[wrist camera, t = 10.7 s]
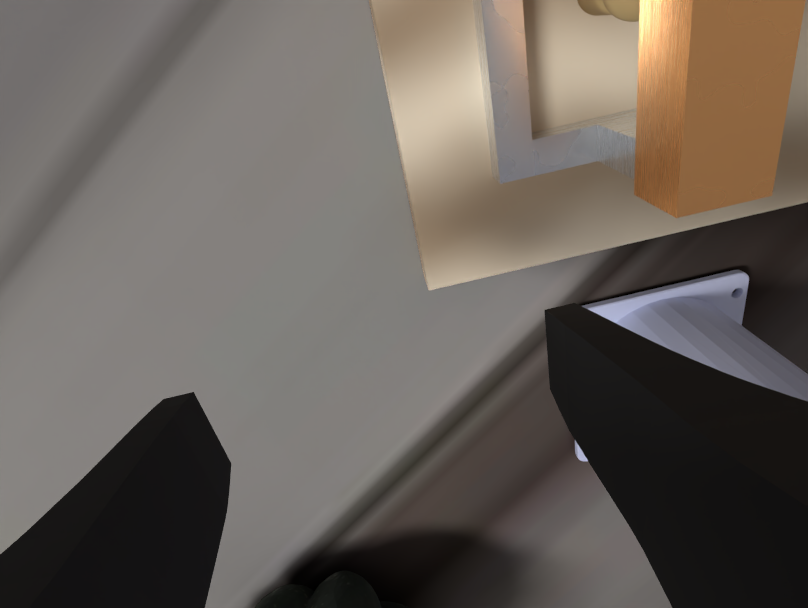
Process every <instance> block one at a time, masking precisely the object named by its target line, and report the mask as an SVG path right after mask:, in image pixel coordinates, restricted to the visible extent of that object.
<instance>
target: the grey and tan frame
mask: <svg viewBox="0 0 808 608" xmlns="http://www.w3.org/2000/svg"><path fill="white" fill-rule="evenodd" d="M805 1H806V0H640V13H639V46H638V79H637V108H634V109H630V110H626V111H621V112H617V113H613V114H608V115H604V116H600V117H595V118H591V119H587V120H583V121H578V122H574V123H570V124H565V125H561V126H557V127H552V128H548V129H544V130H540V131H535V132H532V129H531V115H530V101H529V86H528V72H527V58H526V43H525V29H524V14H523V0H473V9H474V18H475V27H476V36H477V44H478V53H479V62H480V71H481V80H482V89H483V98H484V107H485V116H486V125H487V134H488V142H489V151H490V160H491V169H492V176H493V177H494V178H495V179H496V180H497V181H498V182H499V183H500V184H502V183H506V182H510V181H515V180H519V179H523V178H527V177H532V176H536V175H540V174H545V173H549V172H553V171H558V170H562V169H566V168H570V167H575V166H579V165H583V164H588V163H592V162H596V161H599V162H601V163H603V164H605V165H607V166H609V167H611V168H613V169H615V170H617V171H619V172H621V173H622V174H624V175H626V176H628V177H630V178H632V179H634V195H635V196H637V197H639V198H641V199H643V200H644V201H646V202H648V203H650V204H652V205H653V206H655V207H657V208H659V209H661V210H663V211H664V212H666V213H668V214H670V215H672V216H673V217H675V218H679V217H684V216H688V215H692V214H697V213H701V212H705V211H709V210H714V209H718V208H722V207H727V206H731V205H735V204H739V203H744V202H748V201H752V200H757V199H761V198H765V197H769V196H772V193H773V188H774V182H775V176H776V170H777V164H778V158H779V153H780V147H781V141H782V135H783V129H784V124H785V118H786V112H787V106H788V100H789V94H790V89H791V83H792V77H793V71H794V65H795V60H796V54H797V48H798V42H799V36H800V30H801V25H802V19H803V13H804V7H805Z"/></svg>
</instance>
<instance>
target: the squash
mask: <svg viewBox="0 0 808 608" xmlns="http://www.w3.org/2000/svg"><path fill="white" fill-rule="evenodd" d="M255 608H408V607H406V606H404V605H402V604H399V603H395V602H390V601H382V602H380V601H379V599H378V597H377V595H376V593H375V591H374V590H373V588H372V587H371V585H370V584H369V583H368V582H367V581H366V580H365V579H364V578H363V577H361V576H360V575H358V574H355V573H353V572H351V571H339V572H336V573H334V574H332V575H331V576H329V577H328V578H326V579H325V580H324V581H323V582H322V583H321V584H320V585H319V586H318V587H317V588H316V590H315V592H314V591H313V590H312V589H310V588H308V587H306V586H302V585H295V584H290V585H285V586H282V587H279V588H277V589H276V590H274V591H273V592H271V593H270V594H268V595H267V596H265V597H264V598H263V599H261V601H260V602H259V603H258V604H257V606H256V607H255Z"/></svg>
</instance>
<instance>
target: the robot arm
mask: <svg viewBox="0 0 808 608" xmlns="http://www.w3.org/2000/svg"><path fill="white" fill-rule="evenodd" d="M748 284H749V276H748V275H747V274H746V273H745V272H743V271H741V270H732V271H728V272H724V273H720V274H715V275H711V276H707V277H702V278H698V279H694V280H690V281H685V282H681V283H677V284H673V285H668V286H664V287H660V288H655V289H651V290H647V291H643V292H638V293H634V294H630V295H626V296H621V297H617V298H613V299H608V300H604V301H600V302H596V303H591V304H587V305H583V306H580V305H578V304H575V303H573V304H568V305H564V306H560V307H556V308H551V309H547V310H545V322H546V337H547V351H548V366H549V381H550V390H551V392H552V394H553V396H554V399H555V401H556V403H557V405H558V408H559V410H560V412H561V414H562V416H563V418H564V420H565V422H566V425H567V427H568V429H569V431H570V432H571V434H572V436H573V437H574V439H575V453H576V455H577V457H578V459H579V460H580V461H589V463H590V465H591V466H592V468H593V469H594V471H595V472H596V474H597V476H598V477H599V479H600V480H601V482H602V483H603V485H604V487H605V488H606V490H607V491H608V493H609V494H610V496H611V498H612V499H613V501H614V502H615V504H616V506H617V507H618V509H619V510H620V512H621V513H622V515H623V517H624V518H625V520H626V521H627V523H628V524H629V526H630V528H631V529H632V531H633V533H634V535H635V536H636V538H637V540H638V542H639V543H640V545H641V547H642V548H643V550H644V552H645V554H646V556H647V558H648V560H649V562H650V564H651V566H652V568H653V570H654V572H655V574H656V576H657V578H658V580H659V582H660V584H661V586H662V588H663V590H664V592H665V594H666V596H667V598H668V599H669V601H670V603H671V606H672V608H808V374H807V373H806V372H804V371H803V370H802V369H800V368H799V367H797V366H796V365H795V364H793V363H792V362H791V361H789V360H788V359H787V358H785V357H784V356H782V355H781V354H780V353H778V352H777V351H776V350H774V349H773V348H771V347H770V346H769V345H767V344H766V343H765V342H763V341H762V340H761V339H759V338H758V337H756V336H755V335H754V334H752V333H751V332H750V331H748V330H747V329H745V328H744V327H743V326H742V320H743V314H744V308H745V302H746V296H747V290H748ZM735 289H736V291H735V292H734V293H732V292H733V291H734V290H735ZM230 473H231V462H230V460H229V459H228V457H227V455H226V453H225V451H224V449H223V447H222V445H221V443H220V441H219V440H218V438H217V436H216V434H215V432H214V430H213V428H212V426H211V424H210V422H209V420H208V419H207V417H206V415H205V413H204V411H203V409H202V407H201V405H200V403H199V401H198V400H197V398H196V396H195V394H194V392H192V393H188V394H184V395H179V396H175V397H171V398H166V399H163V400H162V401H161V402H160V403H159V404H158V405H156V406H155V407H154V408H153V409H152V410H151V411H150V412H149V413H148V414H147V415H146V416H145V417H144V418H143V419H142V420H140V421H139V422H138V423H137V424H136V425H135V426H134V427H133V428H132V429H131V430H130V431H129V432H128V433H127V434H126V435H125V436H124V437H123V438H122V440H121V441H120V442H119V443H118V444H117V445H116V446H115V447H114V448H113V449H112V450H111V451H110V452H109V453H108V454H107V455H106V456H105V457H104V458H103V459H102V460H101V461H100V462H99V463H98V464H97V465H96V466H95V467H94V468H93V469H92V470H91V471H90V472H89V473H88V474H87V475H86V476H85V477H84V478H83V479H82V480H81V481H80V482H79V483H78V484H77V485H75V486H74V487H73V488H72V489H71V490H70V491H69V492H68V493H67V494H66V495H65V496H64V497H63V498H62V499H61V500H60V501H59V502H57V503H56V504H55V505H54V506H53V507H52V508H51V509H50V510H49V511H48V512H47V513H46V514H45V515H44V516H43V517H42V518H41V519H39V520H38V521H37V522H36V523H35V524H34V525H33V526H32V527H31V528H30V529H29V530H28V531H27V532H26V533H24V534H23V535H22V536H21V537H20V538H19V539H18V540H17V541H15V542H14V543H13V544H12V545H11V546H10V547H9V548H7V549H6V550H5V551H4V552H3V553H2V554H0V608H205V604H206V600H207V596H208V591H209V587H210V583H211V579H212V574H213V570H214V566H215V562H216V558H217V553H218V549H219V545H220V540H221V536H222V531H223V527H224V522H225V518H226V513H227V506H228V497H229V486H230Z"/></svg>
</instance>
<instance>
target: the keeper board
mask: <svg viewBox="0 0 808 608" xmlns="http://www.w3.org/2000/svg"><path fill="white" fill-rule="evenodd" d="M369 4H370V9H371V14H372V19H373V24H374V29H375V34H376V39H377V44H378V49H379V54H380V59H381V64H382V69H383V74H384V79H385V84H386V89H387V94H388V98H389V103H390V108H391V113H392V118H393V123H394V128H395V133H396V138H397V143H398V148H399V153H400V158H401V163H402V168H403V173H404V178H405V183H406V188H407V193H408V198H409V203H410V208H411V213H412V218H413V223H414V228H415V233H416V238H417V243H418V248H419V253H420V258H421V263H422V268H423V273H424V278H425V281H426V284H427V286H428V289H429V290H433V289H438V288H442V287H446V286H450V285H455V284H459V283H463V282H468V281H472V280H476V279H480V278H485V277H489V276H493V275H498V274H502V273H506V272H510V271H515V270H519V269H523V268H528V267H532V266H536V265H540V264H545V263H549V262H553V261H558V260H562V259H566V258H570V257H575V256H579V255H583V254H588V253H592V252H596V251H600V250H605V249H609V248H613V247H618V246H622V245H626V244H630V243H635V242H639V241H643V240H648V239H652V238H656V237H660V236H665V235H669V234H673V233H678V232H682V231H686V230H690V229H695V228H699V227H703V226H708V225H712V224H716V223H720V222H725V221H729V220H733V219H738V218H742V217H746V216H750V215H755V214H759V213H763V212H768V211H772V210H776V209H781V208H785V207H789V206H793V205H798V204H802V203H806V202H808V0H806V1H805V7H804V13H803V19H802V25H801V30H800V36H799V42H798V48H797V54H796V60H795V65H794V71H793V77H792V83H791V89H790V94H789V100H788V106H787V112H786V118H785V124H784V129H783V135H782V141H781V147H780V153H779V158H778V164H777V170H776V176H775V182H774V188H773V193H772V196H769V197H765V198H761V199H757V200H752V201H748V202H744V203H739V204H735V205H731V206H727V207H722V208H718V209H714V210H709V211H705V212H701V213H697V214H692V215H688V216H684V217H679V218H675V217H673V216H672V215H670V214H668V213H666V212H664V211H663V210H661V209H659V208H657V207H655V206H653V205H652V204H650V203H648V202H646V201H644V200H643V199H641V198H639V197H637V196H635V195H634V179H632V178H630V177H628V176H626V175H624V174H622V173H621V172H619V171H617V170H615V169H613V168H611V167H609V166H607V165H605V164H603V163H601V162H599V161H596V162H592V163H588V164H583V165H579V166H575V167H570V168H566V169H562V170H558V171H553V172H549V173H545V174H540V175H536V176H532V177H527V178H523V179H519V180H515V181H510V182H506V183H502V184H500V183H499V182H498V181H497V180H496V179H495V178H494V177H493V176H492V169H491V160H490V151H489V142H488V134H487V125H486V116H485V107H484V98H483V89H482V80H481V71H480V62H479V53H478V44H477V36H476V27H475V18H474V9H473V0H369ZM639 13H640V0H523V14H524V29H525V43H526V58H527V72H528V86H529V101H530V115H531V129H532V132H535V131H540V130H544V129H548V128H552V127H557V126H561V125H565V124H570V123H574V122H578V121H583V120H587V119H591V118H595V117H600V116H604V115H608V114H613V113H617V112H621V111H626V110H630V109H634V108H637V79H638V46H639Z"/></svg>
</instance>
